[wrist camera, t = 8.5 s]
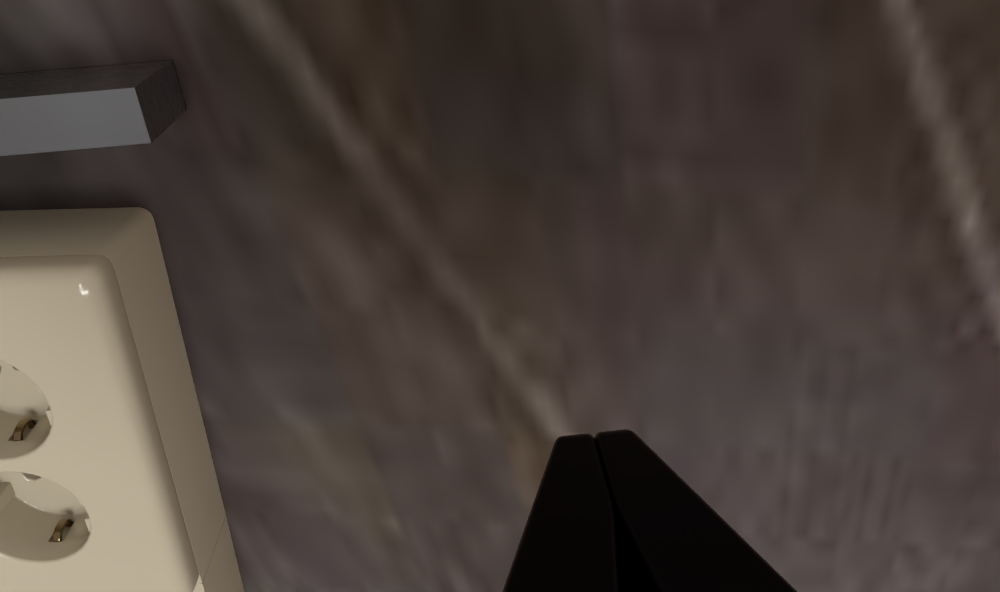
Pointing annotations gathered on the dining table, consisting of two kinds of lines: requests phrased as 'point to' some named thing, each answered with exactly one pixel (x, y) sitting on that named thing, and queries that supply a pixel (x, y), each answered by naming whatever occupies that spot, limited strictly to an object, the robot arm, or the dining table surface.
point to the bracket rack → (87, 107)
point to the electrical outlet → (100, 415)
